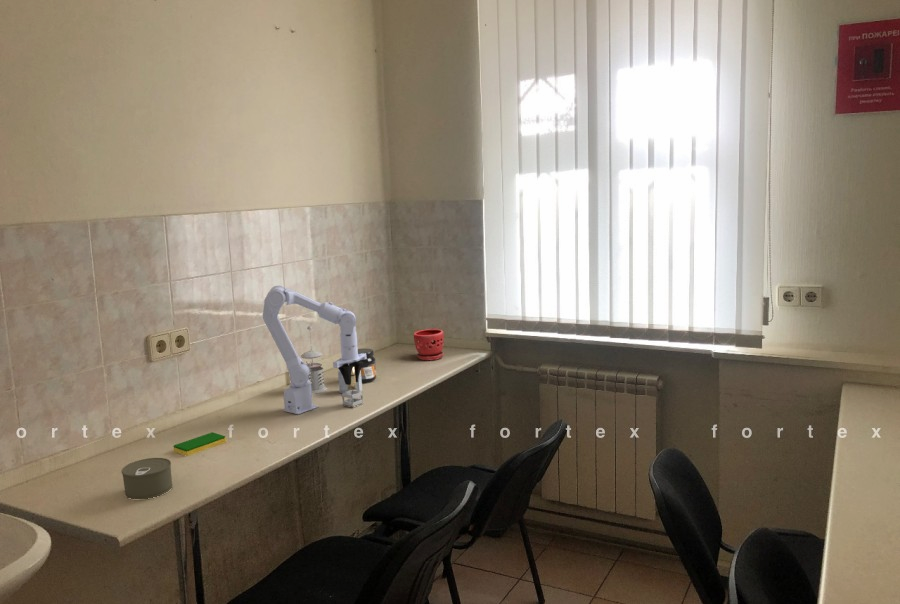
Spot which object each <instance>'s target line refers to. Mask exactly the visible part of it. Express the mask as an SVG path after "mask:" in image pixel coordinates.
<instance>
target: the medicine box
mask: <svg viewBox="0 0 900 604" xmlns="http://www.w3.org/2000/svg"><path fill="white" fill-rule="evenodd" d="M337 373H338V374H337V376H338V377H337V379H338V389H339V394H342V393H345V392H347V391H350V390H348V385H347V384H345V381H344V378H343V376H342V374H341V372H340V370H339V369H338V372H337ZM354 390H356V391H361V392H362V390H363V383H362V380H361V370H360V374H359V379H358V382H356V389H354Z"/></svg>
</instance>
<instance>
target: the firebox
mask: <svg viewBox="0 0 900 604" xmlns="http://www.w3.org/2000/svg"><path fill="white" fill-rule="evenodd" d="M341 395H342V406H343V405H345V406H344V407H347V406H350V407H349V408H352V407H354V406H356V407H358V406H357V405H359V406H361V405H360V404H362V403H363V404H364V402H363V401H364V398H363V397H364V396H363V391H362V390H361V391H356V390H350V391H347V392H345V393H341ZM358 397H360V398H358ZM345 398H347V399H345ZM363 404H362V405H363ZM354 408H355V407H354Z"/></svg>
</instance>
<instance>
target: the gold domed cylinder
mask: <svg viewBox="0 0 900 604" xmlns="http://www.w3.org/2000/svg"><path fill="white" fill-rule="evenodd" d="M355 375H356V374H355V366H352V371H351V385H348V390H354V389H356V376H355Z"/></svg>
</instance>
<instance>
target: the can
mask: <svg viewBox="0 0 900 604" xmlns="http://www.w3.org/2000/svg"><path fill="white" fill-rule="evenodd" d="M171 465H172V462H171V460H170V459H168V458H164V457H150V458H144V459H139V460H136V461H133V462H131V463H128V464H126V465H125V466H124V467H122V469H121V474H122V479H123V487H124V495H126V496H127V497H128V498H131V499H148V498H153V497H156V498H158V497H157V496H159V497H161V496H160V495H162V494H164V493H166V492H168V491H169V490H170V489H171V488H172V489H173V487H174V486H173V478H172V467H171ZM172 486H173V487H172ZM172 489H171V490H172ZM169 492H170V491H169ZM169 492H168V493H169ZM166 494H167V493H166ZM164 495H165V494H164ZM126 496H125V497H126ZM162 496H163V495H162ZM128 498H127V499H128ZM131 499H130V500H131ZM153 499H154V498H153ZM148 500H149V499H148Z"/></svg>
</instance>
